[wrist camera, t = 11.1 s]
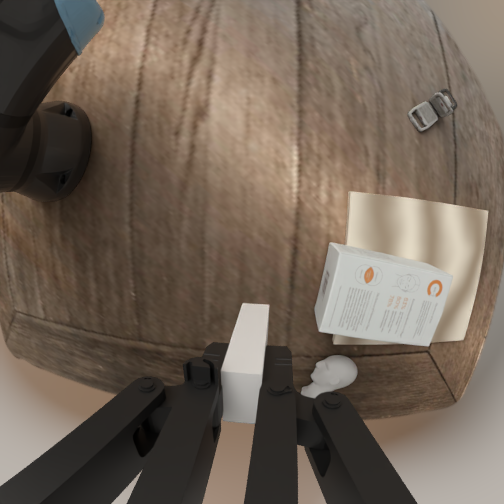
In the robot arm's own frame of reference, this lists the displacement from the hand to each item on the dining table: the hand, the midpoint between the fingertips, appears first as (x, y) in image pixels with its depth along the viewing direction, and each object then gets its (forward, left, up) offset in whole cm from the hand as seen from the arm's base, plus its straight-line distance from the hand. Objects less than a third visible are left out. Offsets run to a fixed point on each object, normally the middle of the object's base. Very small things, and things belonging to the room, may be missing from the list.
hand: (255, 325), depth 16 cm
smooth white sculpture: (+8, -15, -18) cm, 24 cm away
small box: (+6, -1, -13) cm, 14 cm away
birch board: (+18, -1, -17) cm, 25 cm away
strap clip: (+20, +20, -18) cm, 33 cm away
